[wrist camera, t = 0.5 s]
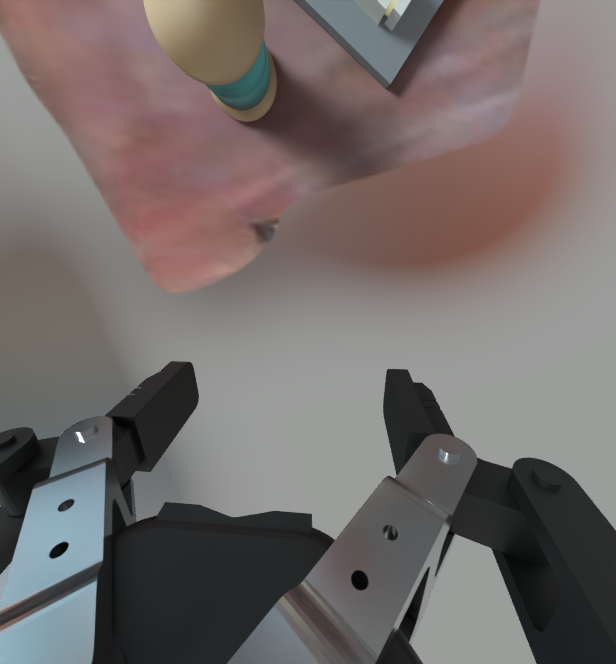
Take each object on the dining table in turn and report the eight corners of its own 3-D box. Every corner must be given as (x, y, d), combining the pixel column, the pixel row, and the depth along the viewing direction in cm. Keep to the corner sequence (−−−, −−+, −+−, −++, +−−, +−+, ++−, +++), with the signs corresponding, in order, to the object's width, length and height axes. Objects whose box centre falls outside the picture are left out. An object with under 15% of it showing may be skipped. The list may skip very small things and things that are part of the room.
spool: (198, 92, 27) (124, 24, 15) (229, 17, 24) (169, -129, 13) (256, 136, 28) (229, 106, 17) (289, 70, 26) (284, -17, 15)
